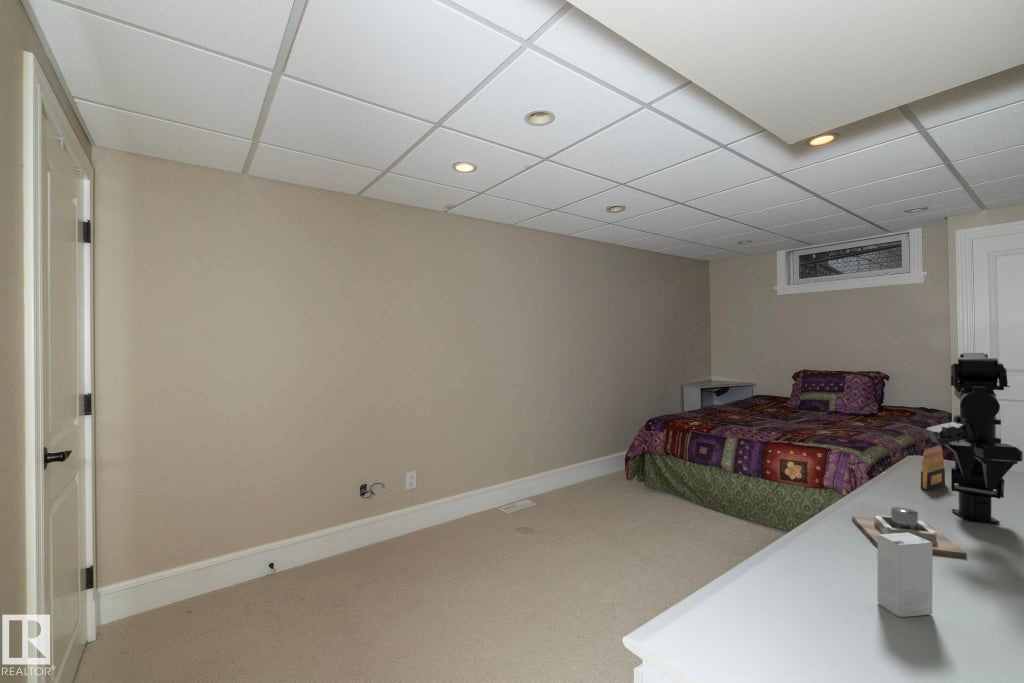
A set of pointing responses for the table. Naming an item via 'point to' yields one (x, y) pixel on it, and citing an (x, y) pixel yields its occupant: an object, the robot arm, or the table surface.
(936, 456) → the ammunition clip
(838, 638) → the table surface
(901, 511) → the cylinder
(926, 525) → the wooden board with frame
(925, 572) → the skincare box
